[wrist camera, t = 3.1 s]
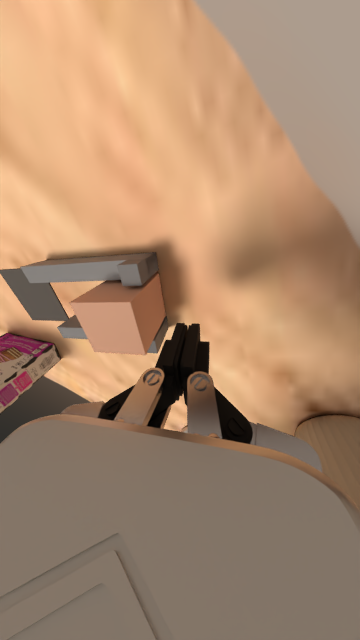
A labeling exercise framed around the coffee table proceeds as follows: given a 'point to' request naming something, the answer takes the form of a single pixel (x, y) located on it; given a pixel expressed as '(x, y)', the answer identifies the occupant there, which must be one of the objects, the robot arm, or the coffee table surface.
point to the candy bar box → (22, 365)
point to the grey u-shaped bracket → (97, 269)
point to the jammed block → (121, 315)
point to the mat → (35, 296)
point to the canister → (336, 449)
